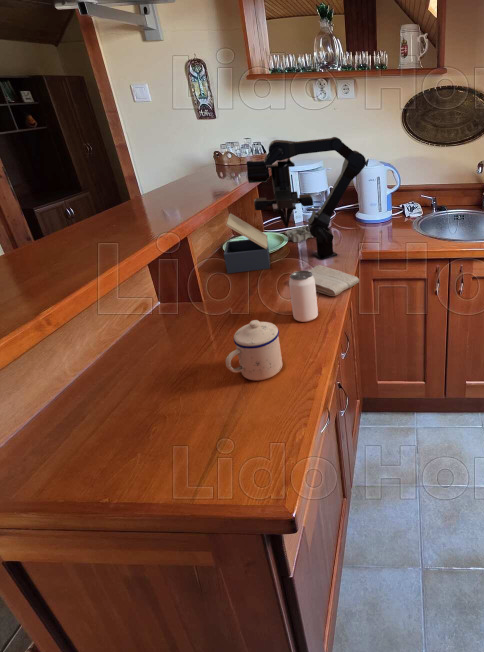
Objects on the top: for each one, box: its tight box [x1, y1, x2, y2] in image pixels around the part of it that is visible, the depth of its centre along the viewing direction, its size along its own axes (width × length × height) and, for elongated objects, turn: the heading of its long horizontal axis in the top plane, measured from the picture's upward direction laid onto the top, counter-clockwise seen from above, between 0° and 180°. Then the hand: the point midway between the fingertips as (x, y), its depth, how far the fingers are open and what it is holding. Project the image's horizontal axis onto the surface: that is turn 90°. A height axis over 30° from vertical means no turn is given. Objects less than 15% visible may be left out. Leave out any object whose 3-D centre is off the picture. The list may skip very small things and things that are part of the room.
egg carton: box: [285, 224, 314, 243], centre depth 167 cm, size 11×8×4 cm
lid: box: [225, 213, 269, 249], centre depth 140 cm, size 14×13×1 cm
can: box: [288, 270, 319, 323], centre depth 108 cm, size 6×6×12 cm
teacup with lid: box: [225, 319, 283, 381], centre depth 87 cm, size 12×9×12 cm
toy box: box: [223, 238, 271, 274], centre depth 143 cm, size 14×13×7 cm
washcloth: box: [307, 264, 360, 297], centre depth 128 cm, size 12×18×3 cm, turn 54°
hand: (286, 226), depth 143 cm, fingers closed
